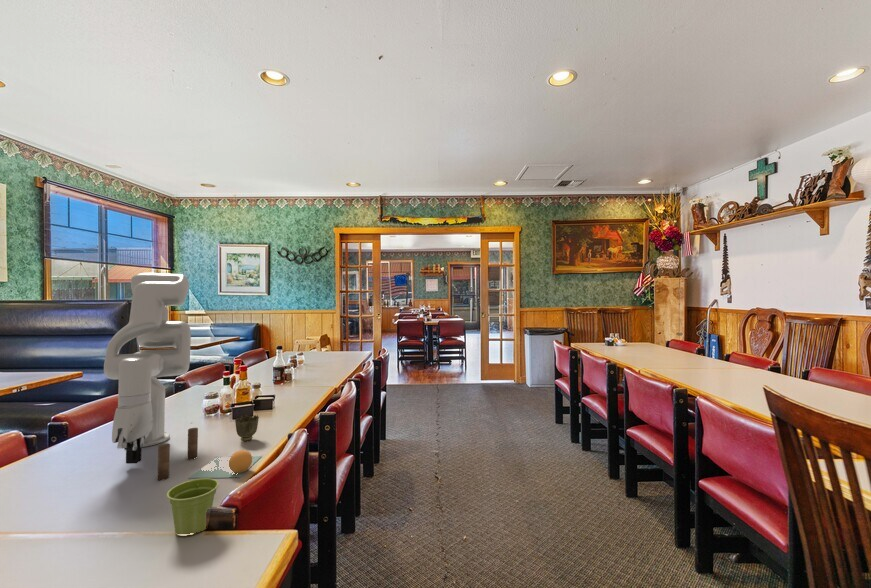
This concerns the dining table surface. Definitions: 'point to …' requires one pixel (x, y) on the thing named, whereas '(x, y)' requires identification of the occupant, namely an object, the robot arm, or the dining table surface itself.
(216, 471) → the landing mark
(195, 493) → the plant pot
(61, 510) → the dining table surface
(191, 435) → the post
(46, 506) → the dining table surface
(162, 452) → the post
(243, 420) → the cup
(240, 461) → the ball
